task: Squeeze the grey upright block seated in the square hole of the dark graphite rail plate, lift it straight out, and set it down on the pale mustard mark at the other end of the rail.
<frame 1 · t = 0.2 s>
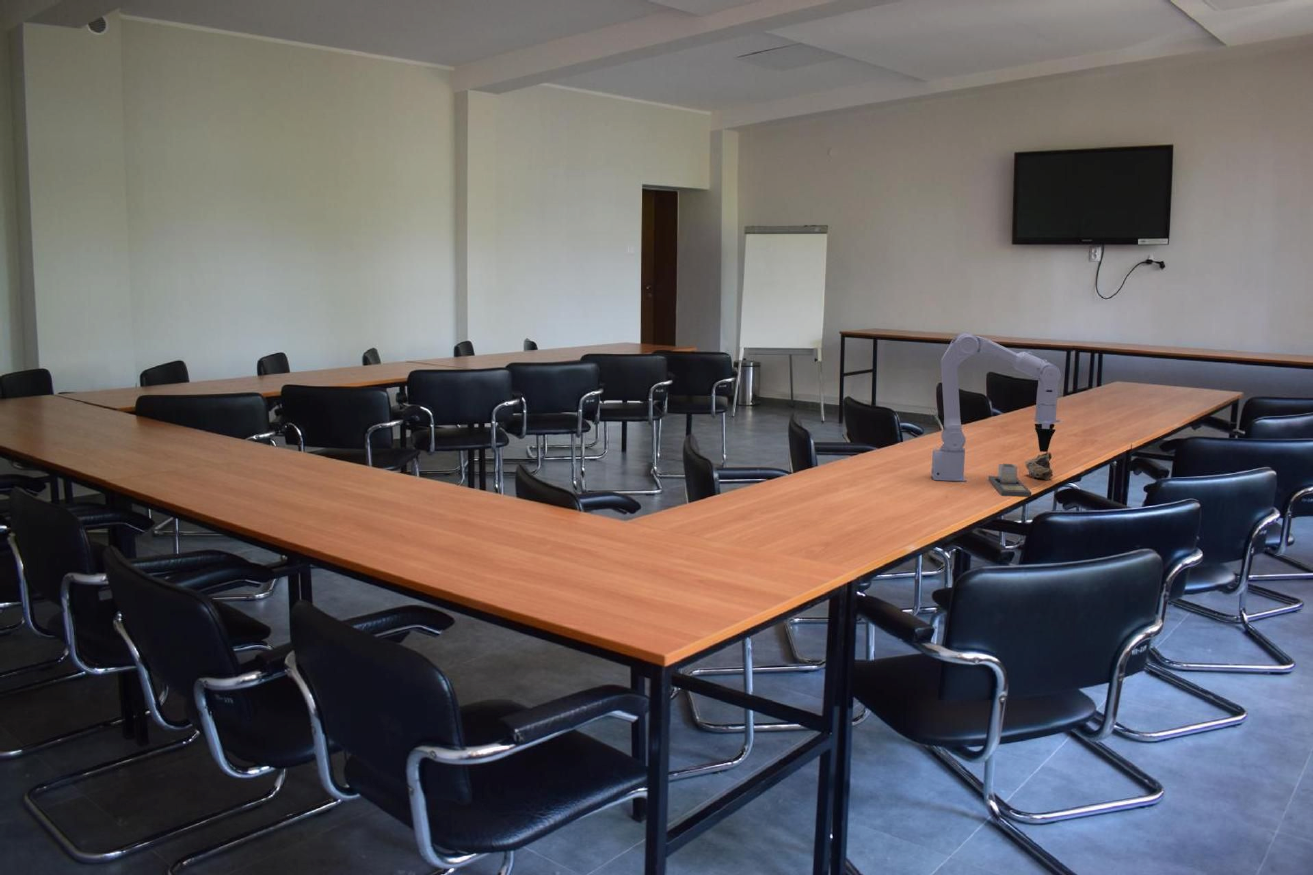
hand: (1043, 449, 309), 10 cm above the table, fingers open, 7 cm apart
rock: (1038, 478, 318), on the table
grey upright block: (1006, 485, 306), resting in rail plate
rail plate: (1009, 488, 302), on the table
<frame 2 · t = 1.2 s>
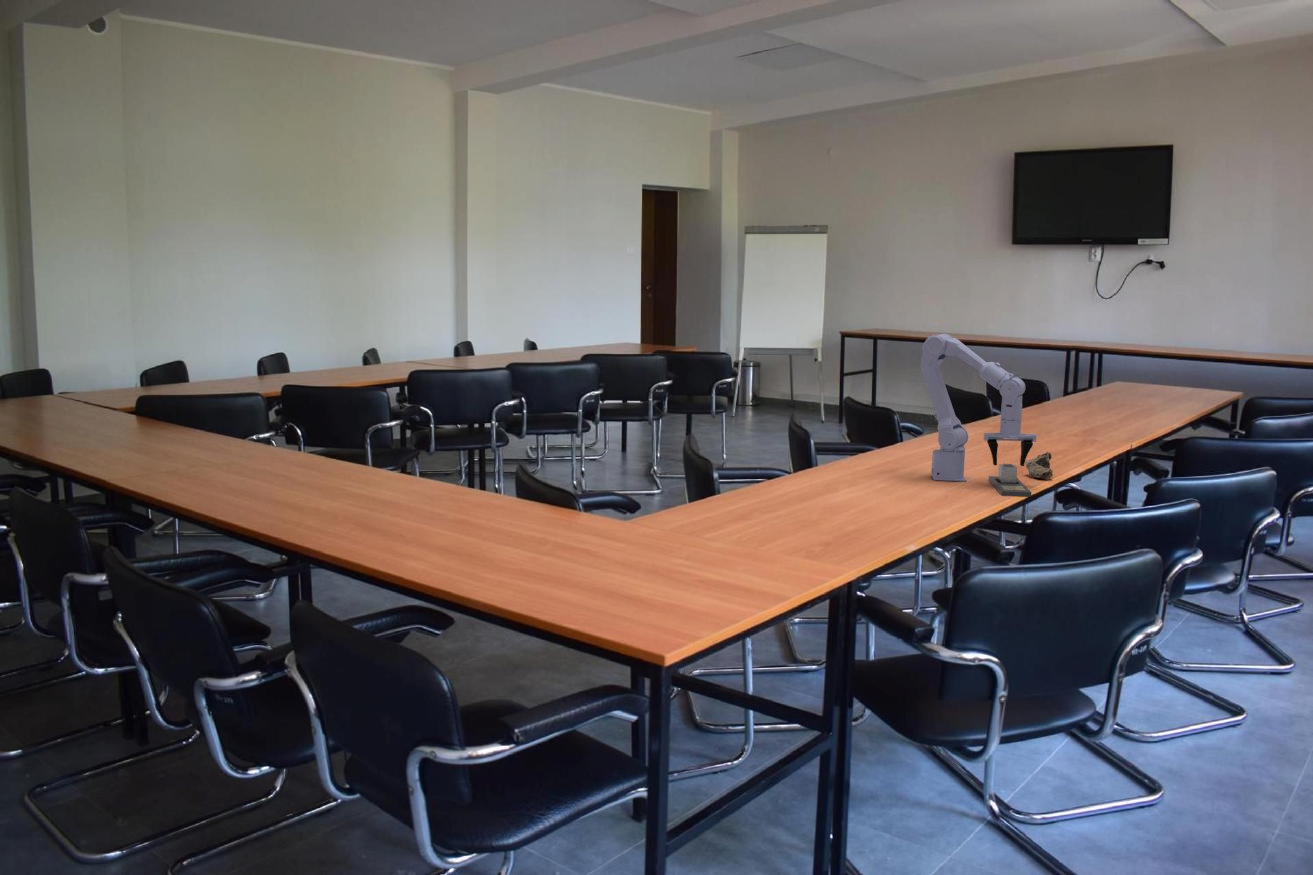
hand: (1008, 465, 305), 6 cm above the table, fingers open, 7 cm apart
nothing on the table moved.
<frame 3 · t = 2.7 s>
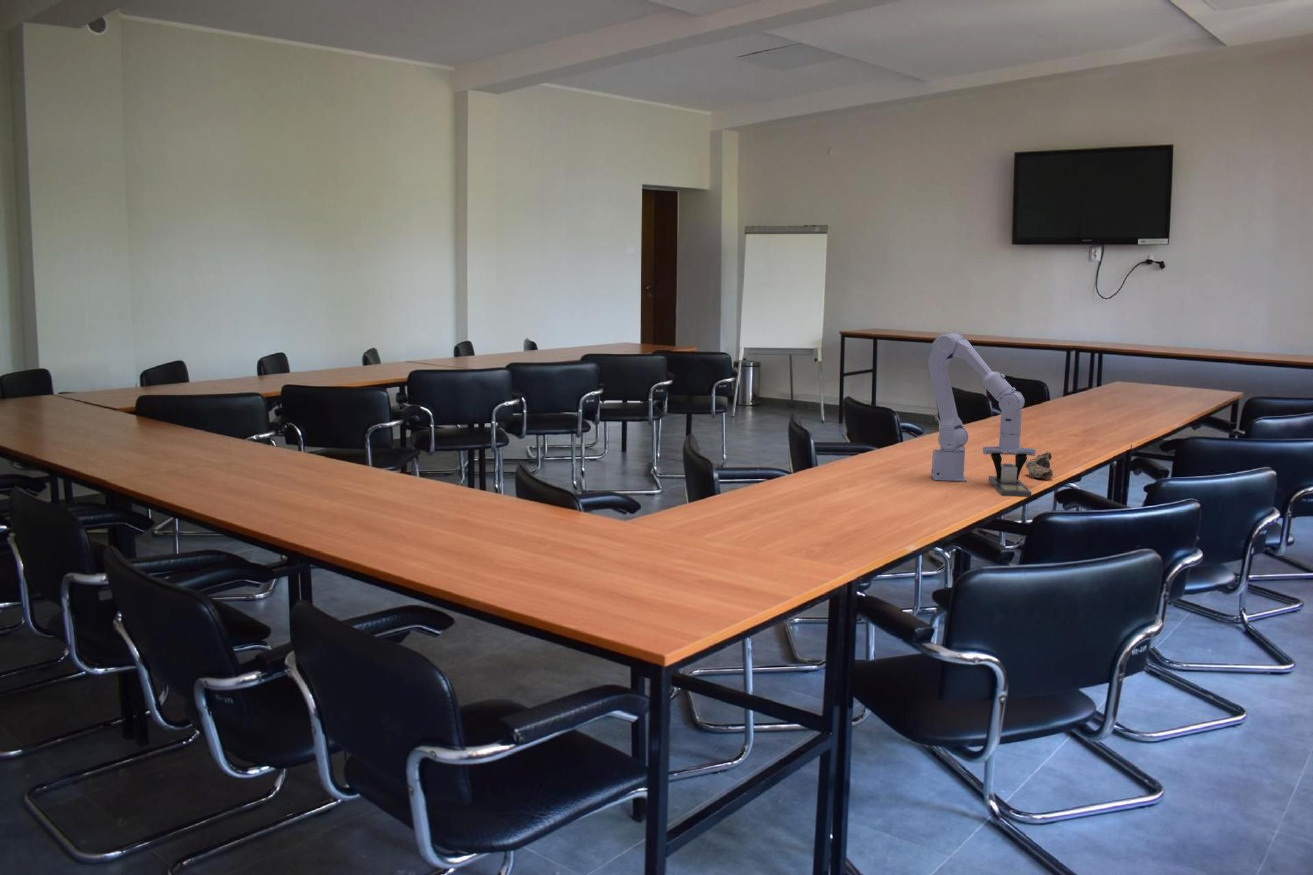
hand: (1007, 478, 305), 2 cm above the table, fingers closed on grey upright block, 4 cm apart
grey upright block: (1006, 485, 306), resting in rail plate, touching gripper
everything else where it was.
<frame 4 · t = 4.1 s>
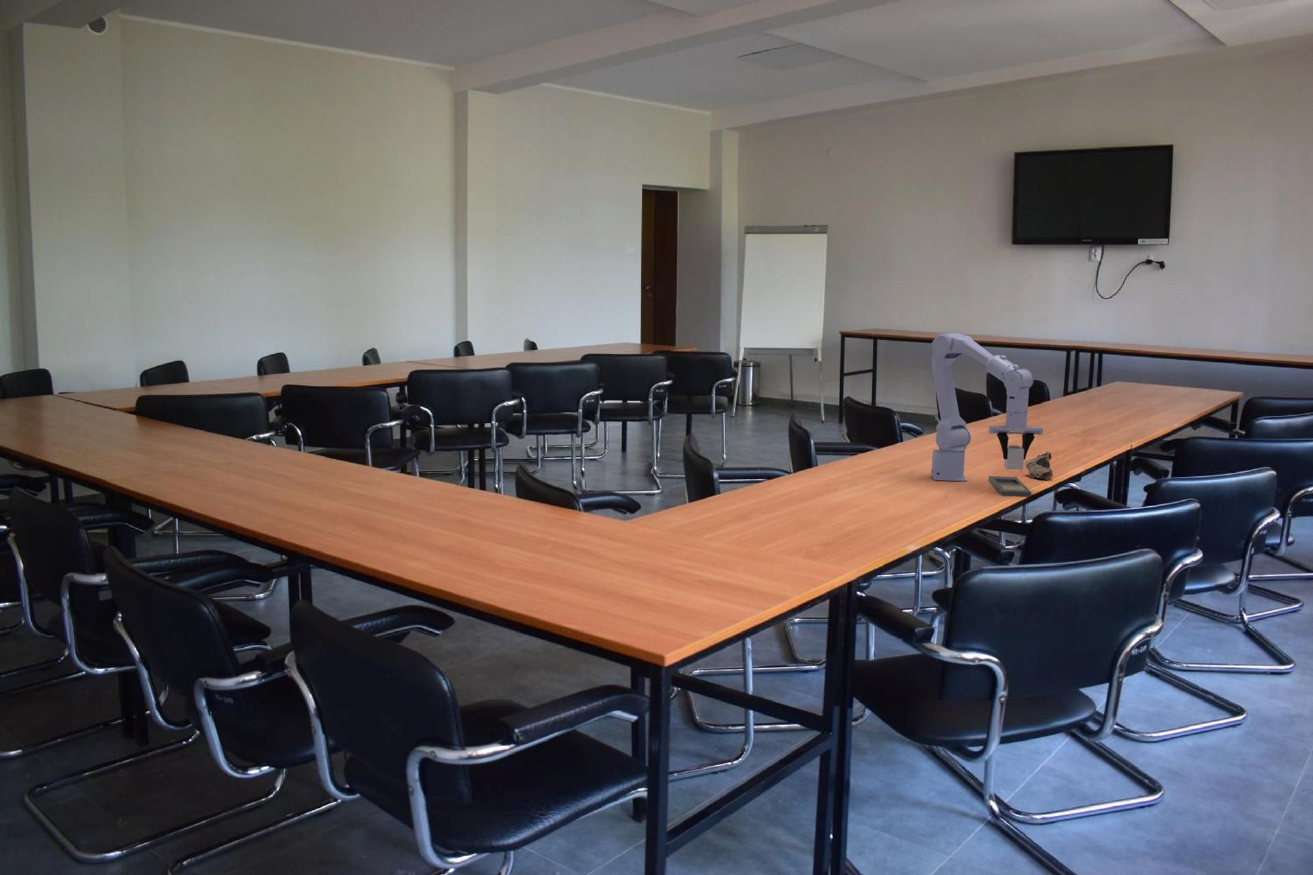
hand: (1014, 458, 297), 9 cm above the table, fingers closed on grey upright block, 4 cm apart
grey upright block: (1013, 468, 298), point 7 cm above the table, touching gripper
everything else where it was.
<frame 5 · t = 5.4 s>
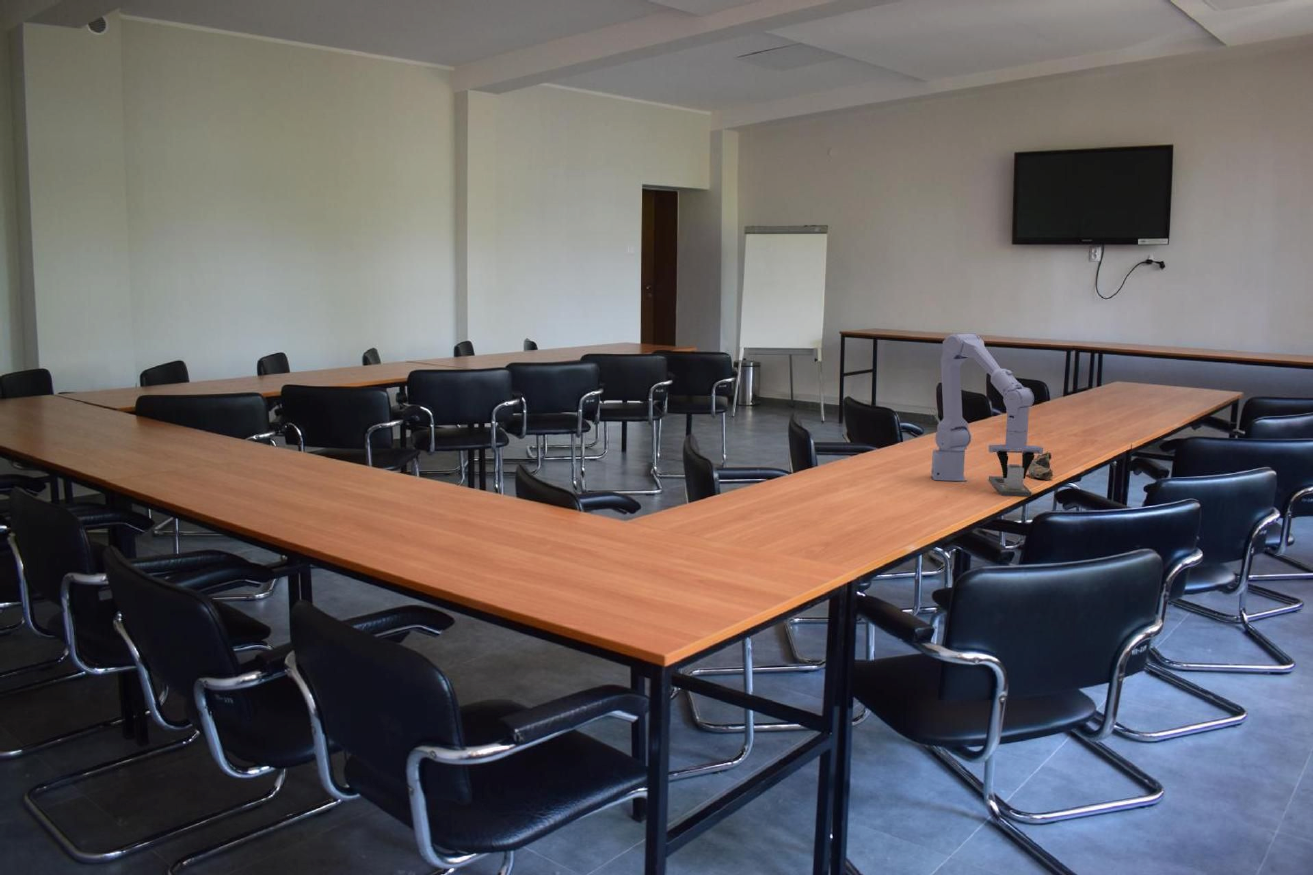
hand: (1013, 477, 296), 4 cm above the table, fingers closed on grey upright block, 4 cm apart
grey upright block: (1013, 487, 296), point 1 cm above the table, touching gripper
everything else where it was.
when the fingers open (4 cm above the table, at t = 6.0 s): grey upright block stays where it is, resting on rail plate.
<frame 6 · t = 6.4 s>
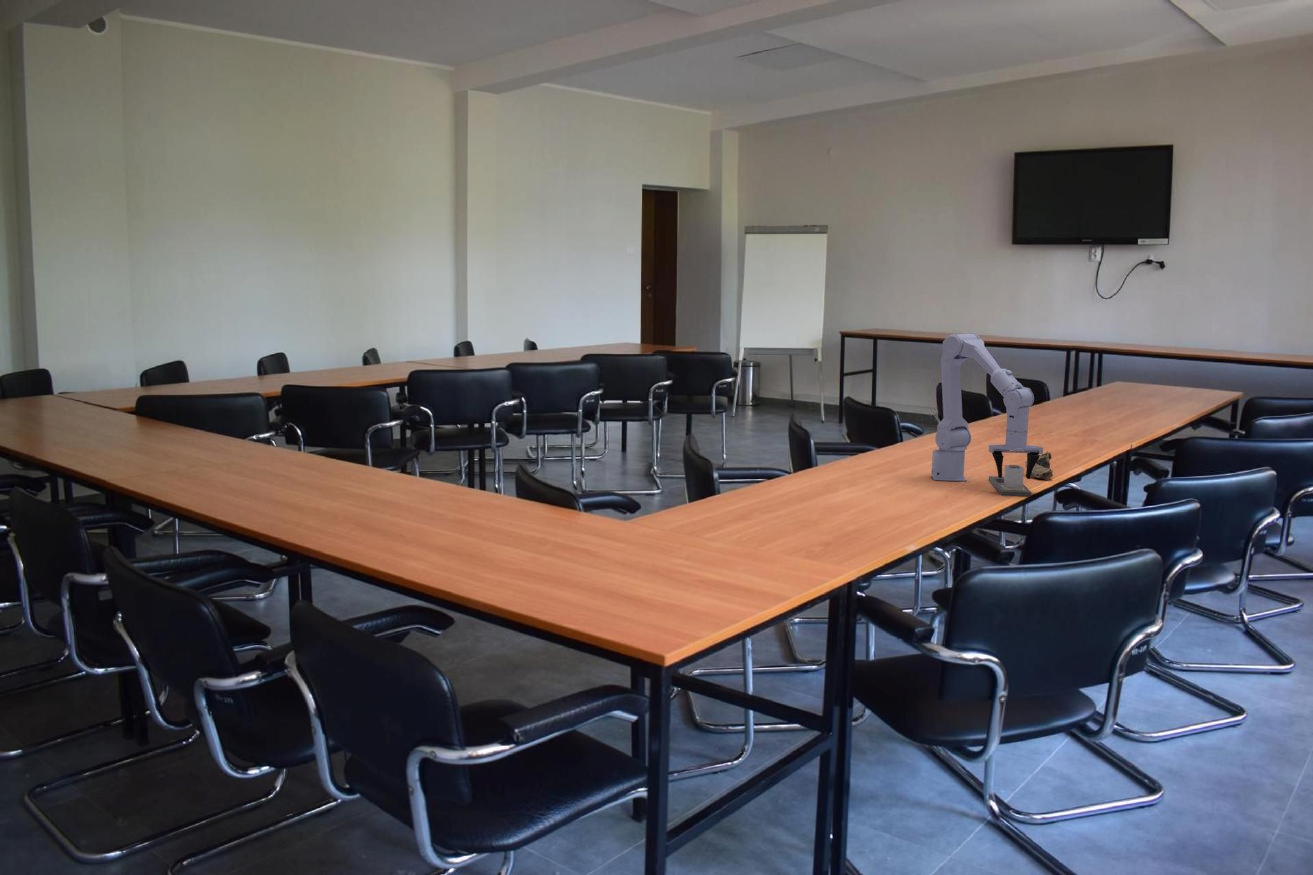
hand: (1013, 477, 296), 4 cm above the table, fingers open, 7 cm apart
grey upright block: (1013, 487, 296), point 1 cm above the table, touching rail plate
everything else where it was.
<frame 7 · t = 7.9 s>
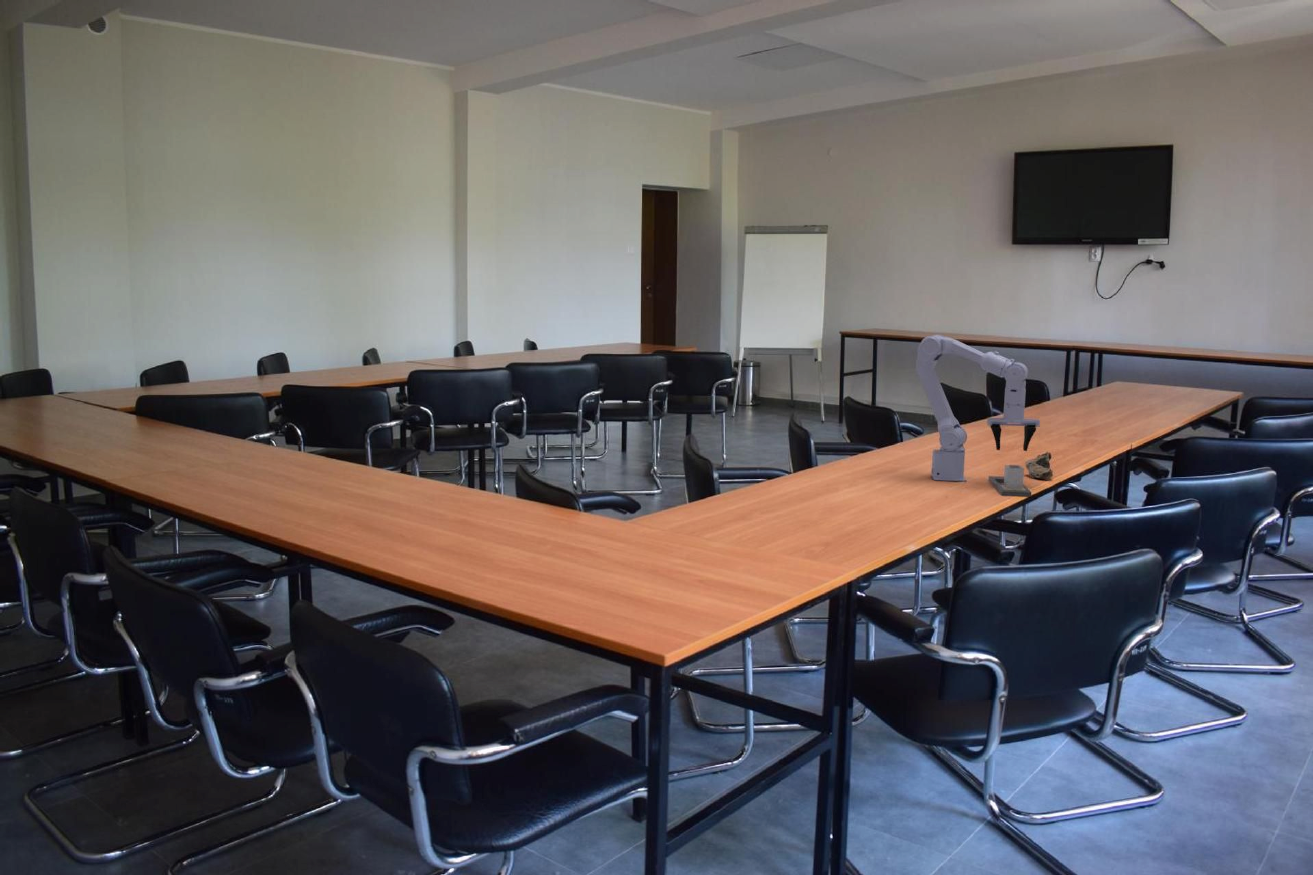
hand: (1011, 450, 305), 10 cm above the table, fingers open, 7 cm apart
nothing on the table moved.
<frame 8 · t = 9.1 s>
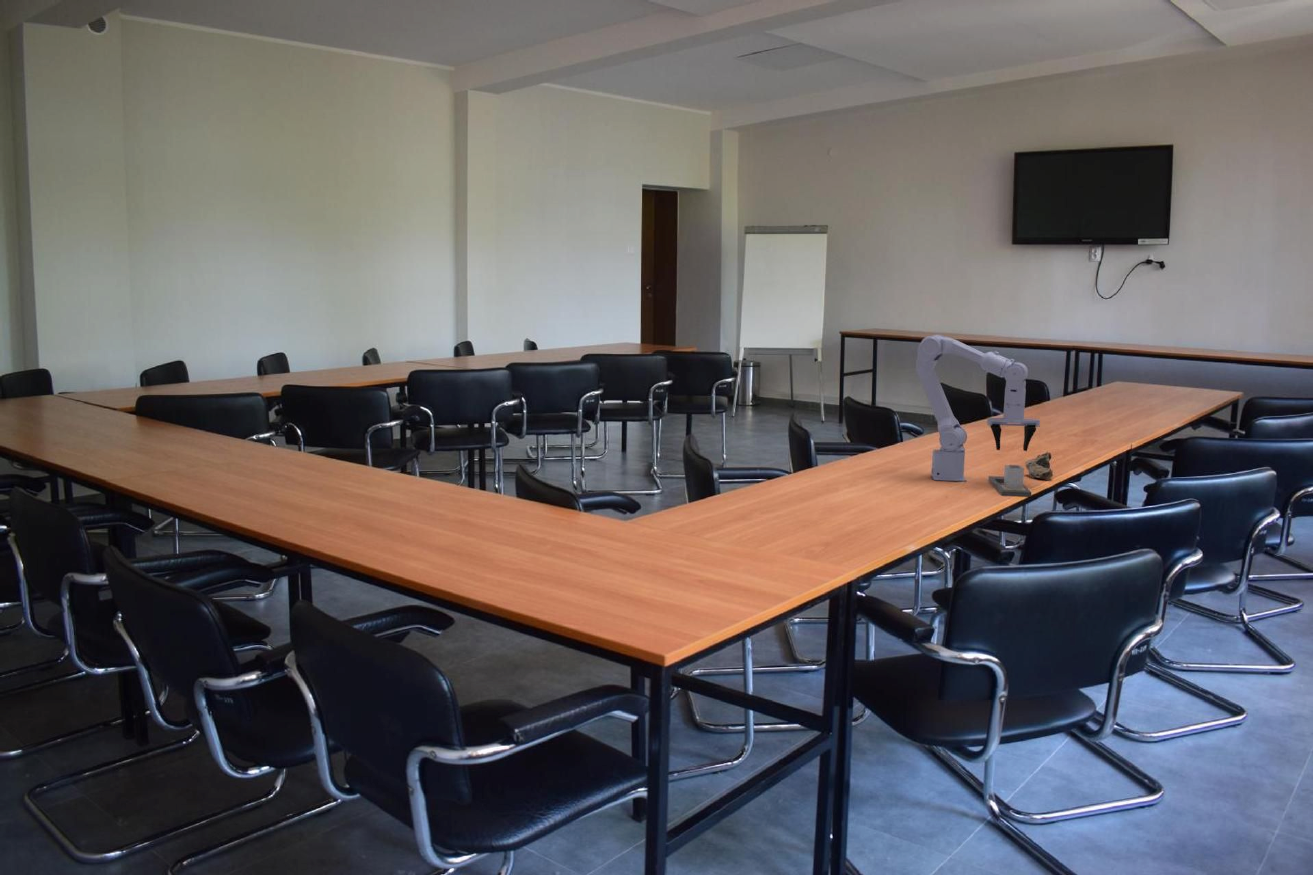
hand: (1011, 450, 305), 10 cm above the table, fingers open, 7 cm apart
nothing on the table moved.
at the end: grey upright block inside the target area on the rail plate (0.3 cm from its centre), point 1.3 cm above the rail plate's base; grey upright block tilted 0°; the gripper is holding nothing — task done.
